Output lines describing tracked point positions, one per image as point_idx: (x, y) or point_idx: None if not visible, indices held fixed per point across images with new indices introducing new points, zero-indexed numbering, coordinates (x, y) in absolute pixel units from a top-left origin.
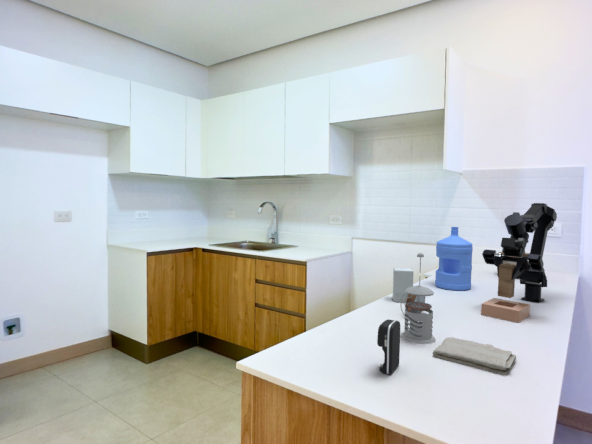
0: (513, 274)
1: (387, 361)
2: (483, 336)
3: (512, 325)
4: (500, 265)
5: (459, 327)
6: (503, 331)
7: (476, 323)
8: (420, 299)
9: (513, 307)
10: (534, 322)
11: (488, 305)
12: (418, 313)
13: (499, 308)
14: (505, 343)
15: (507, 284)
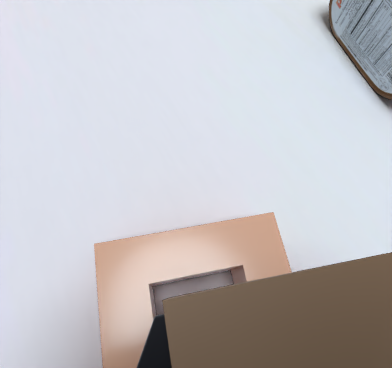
0: (155, 354)
1: None
2: (119, 36)
3: (109, 199)
4: (368, 257)
5: (202, 50)
6: (101, 113)
7: (198, 117)
8: (389, 29)
9: (143, 287)
10: (62, 330)
11: (240, 219)
12: (351, 58)
13: (188, 228)
14: (54, 33)
15: (195, 292)
